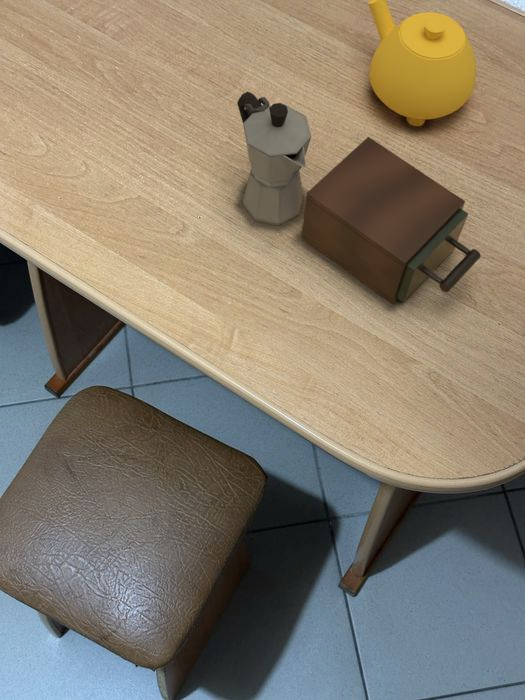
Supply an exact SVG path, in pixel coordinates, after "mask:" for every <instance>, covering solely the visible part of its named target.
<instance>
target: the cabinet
mask: <svg viewBox="0 0 525 700" xmlns="http://www.w3.org/2000/svg"><path fill="white" fill-rule="evenodd" d="M304 203H305V204H304V211H303V221H302V229H301V239H302V240H304V241H305V242H307V243H308V244H310V245H311V246H312V247H314V248H315V249H316V250H318V251H319V252H320V253H322V254H323V255H325V256H326V257H328V258H329V259H330V260H332V261H333V262H334V263H336V264H337V265H338V266H340V267H341V268H343V269H344V270H345V271H346V272H348V273H349V274H351V275H352V276H353V277H355V278H356V279H358V280H359V281H360V282H362V283H363V284H364V285H366V287H368V288H370V289H371V290H372V291H374V292H375V293H376V294H378V295H379V296H381V297H382V298H383V299H384V300H386V301H388V302H389V303H390V304H391V305H393V304H394V303H395V302H396V301H397V299H398V298H396V297H397V294H398V291H399V288H400V285H401V282H402V279H403V276H404V272H405V269H406V266H407V264H408V263H409V261H410V260H411V259H412V258H413V257H414V256H415V255H416V254H417V253H418V252H419V251H420V250H421V249H422V248H423V247H424V246H425V245H426V244H427V243H428V242H429V241H430V240H431V239H432V238H433V237H434V236H435V235H436V234H437V233H438V231H440V230H441V229H442V228H443V227H444V226H445V225H446V224H447V223H448V222H449V221H450V220H451V219H452V218H453V217H454V216H455V214H456V213H457V212H458V211H459V210H460V209H462V210H464V207H465V206H464V205H465V203H466V201H465V199H463V198H461V197H460V196H458V195H457V194H455V193H454V192H452V191H450V190H449V189H447V188H446V187H445V186H443V185H442V184H440V183H438V181H436V180H434V178H432V177H430V176H428V175H427V174H425V173H424V172H422V171H421V170H420V169H418V168H416V167H415V166H413V165H412V164H411V163H409V162H407V161H405V159H403V158H401V157H400V156H398V155H397V154H396V153H394V152H393V151H390V150H389V149H388V148H386V147H385V146H384V145H382V144H381V143H379V142H377V141H376V140H374V139H373V138H372V137H370V136H367V137H366V138H365V139H364V140H362V142H361V143H359V144H358V145H357V146H356V147H355V148H354V149H353V150H352V151H351V152H350V153H349V154H348V155H347V156H346V157H344V158H343V159H342V160H341V161H340V162H339V163H338V164H337V165H336V166H334V167H333V168H332V169H331V170H330V171H329V172H328V173H326V175H325V176H323V177H322V178H321V179H320V180H319V181H318V182H317V183H316V184H314V186H313V187H312V188H311V189H309V190H308V191H307V192H306V197H305V202H304Z"/></svg>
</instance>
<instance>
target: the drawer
mask: <svg viewBox="0 0 525 700" xmlns="http://www.w3.org/2000/svg"><path fill="white" fill-rule="evenodd" d="M468 216H469V213H468V212H467V211H465V210H464V209H460V210H459V211H458V212H457V213H456V214H455V216H454V217H453V218H452V219H451V220H450V221H449V222H448V223H447V224H446V225H445V226H444V227H443V228H442V229H441V230H440V231H438V233H437V234H436V235H435V236H434V237H433V238H432V239H431V240H430V241H429V242H428V243H427V244H426V245H425V246H424V247H423V248H422V249H421V250H420V251H419V252H418V253H417V254H416V255H415V256H414V257H413V258H412V259H411V260H410V261H409V263H408V264H407V266H406V269H405V272H404V276H403V279H402V282H401V285H400V288H399V291H398V294H397V297H396V298H397V299H398V300H399V301H400V302H401V303H405V302H406V300H407V299H408V298H410V296H412V294H413V293H414V292H415V291H416V290H417V289H418V288H419V287H420V286H421V284H423V283H424V282H425V280H426V279H428V278H429V279H431V280H432V281H434V282H435V283H437V284H438V287H439V288H440V290H441V291H442V292H444V293H449V292H450V291H451V290H452V289H453V288H454V287H455V286H456V284H457V283H458V282H459V281H460V280H461V279H462V278H463V277H464V276H465V275H466V274H467V273H468V271H470V269H471V268H472V267H473V266H474V265H475V264H476V263H477V261H479V260H480V258H481V257H482V256H481V253H480V251H478V250H477V249H474V248H472V249H469V248H468V247H466V246H465V245H463V244H462V243H461V242H459V239H460V236H461V234H462V231H463V228H464V226H465V223H466V222H467V219H468ZM455 248H456V249H457V250H459V251H460V252H461V253H463V254H464V255H465V256H464V257H463V258H462V259H461V260H460V262H458V263H457V264H456V266H455V267H454V268H453V269H452V270H451V271H450V272H449V273H448V274H447V275H446V276H445V277H444V278H442V277H440V275H437V274H436V273H435V272H434V271H435V270H436V269H437V268H438V267H439V266H440V265H441V264H442V262H444V260H445V259H446V258H447V257H448V256H449V255H450V254H451V253H452V252H453V251H454V250H455Z"/></svg>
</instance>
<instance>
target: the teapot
mask: <svg viewBox="0 0 525 700" xmlns="http://www.w3.org/2000/svg"><path fill="white" fill-rule="evenodd" d="M387 2H388V1H387V0H369V1H368V2H367V5H368V7H369V10H370V13H371V15H372V18H373V22H374V24H375V27H376V30H377V33H378V36H379V38H380V41H381V42H380V43H379V44H378V46H377V48H376V49H375V52H374V54H373V56H372V58H371V61H370V65H369V69H368V70H369V71H368V74H369V81H370V82H369V83H370V85H371V87H372V90H373V92H374V93H375V95H376V96H377V98H378V99H379V100H380V101H381V103H383V104H384V105H385V106H387V107H388V108H389V109H390V110H391V111H393V112H395V113H397V114H399V115H400V116H403V117H406V122H407V123H408V124H409V125H410V126H413V127H420V126H423V125H424V124H425V122H426V120H432V119H438V118H443V117H446V116H447V115H448V116H449V115H451V114H453V113H454V112H456V111H458V110H459V109H460V108H461V107H463V106H464V105H465V104H466V103H467V102H468V100H469V99H470V98H471V96H472V94H473V92H474V89H475V84H476V78H477V63H476V57H475V52H474V50H473V49H474V48H473V47H472V45H471V42H470V40H469V38H468V36H467V33H466V32H465V30H464V29H463V28H462V26H461V25H460V23H458V22H457V21H456V20H454V19H452V18H451V17H449V16H447V15H445V14H442V13H439V12H431V11H430V12H429V11H427V12H419V13H416V14H413V15H410V16H409V17H407V18H406V19H404V20H402V21H401V22H399V24H397V25H396V24H395V22H394V19H393V17H392V14H391V11H390V8H389V5H388V3H387Z"/></svg>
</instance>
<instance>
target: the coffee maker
mask: <svg viewBox="0 0 525 700" xmlns="http://www.w3.org/2000/svg"><path fill="white" fill-rule="evenodd" d="M236 105H237V107H238V112H239V115H240V118H241V121H242V126H243V133H244V137H245V144H246V149H247V156H248V160H249V162H250V172H249V175H248V179H247V184H246V187H245V191H244V195H243V199H242V204H241V205H242V206H243V208H244V209H245V210H246V211H247V213H248V214H249V216H250V217H251V219H252V220H253V221H254V222H258V223H262V224H263V223H264V224H268V225H273V226H277V227H278V226H281V225H283V224H284V223H286V222H289V221H290V220H292V219H294V218H296V217H298V216H299V214H300V212H301V211H300V210H301V205H302V202H303V198H304V195H303V186H302V180H301V171H300V170H301V169H302V168H306V167H307V163H306V155H307V152H308V148H309V146H310V142H311V139H312V133H311V129H310V124H309V122H308V118H307V115H305V114H304V113H301V112H299V110H297V109H295V108H292V107H291V106H288V105H287V104H285V103H282V102H276V103H273V104H272V105H270V102H269V100H268V99H267V98H266V97H265V96H261V97H258V98H257V96H256V95H255V94H253V93H252V92H250V91H246V92H244V93H242V94H241V95H240V96H239V98H238V99H237V102H236Z"/></svg>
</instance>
